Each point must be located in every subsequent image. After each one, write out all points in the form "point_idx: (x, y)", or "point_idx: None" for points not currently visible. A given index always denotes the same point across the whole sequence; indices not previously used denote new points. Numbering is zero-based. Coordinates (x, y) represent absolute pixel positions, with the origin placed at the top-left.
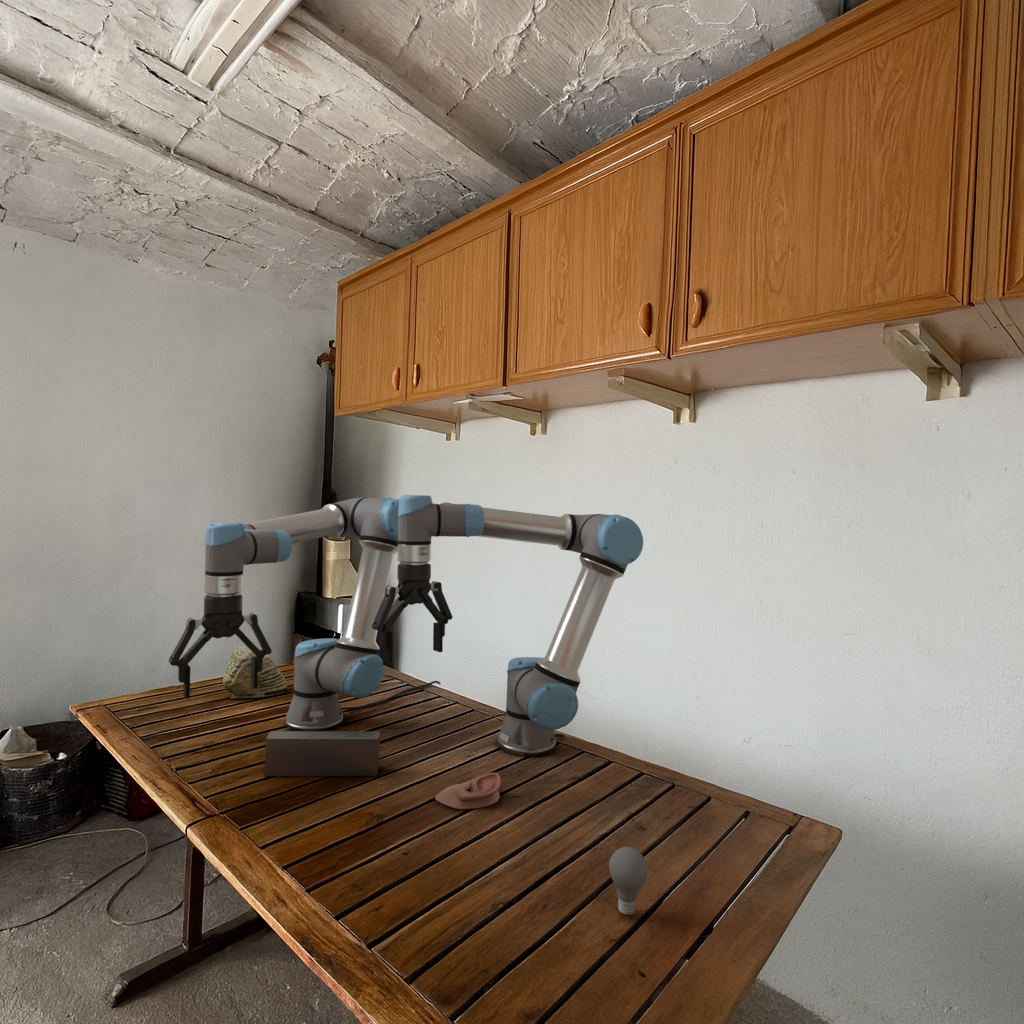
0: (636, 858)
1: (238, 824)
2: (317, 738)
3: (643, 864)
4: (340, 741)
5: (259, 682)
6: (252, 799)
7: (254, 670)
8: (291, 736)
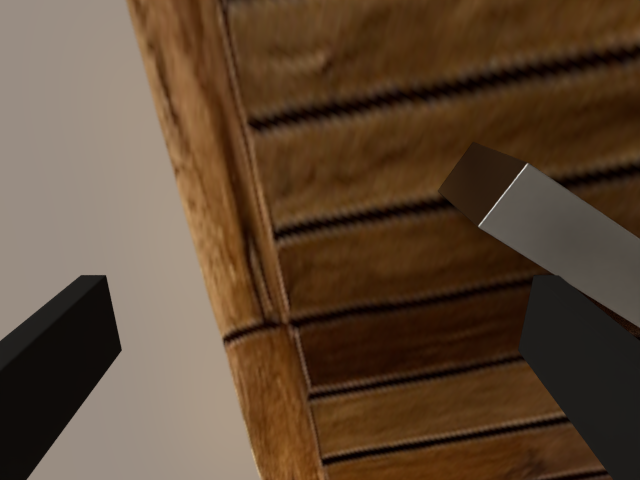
0: None
1: (310, 380)
2: (615, 311)
3: None
4: None
5: None
6: (367, 297)
7: (597, 457)
8: (558, 254)
